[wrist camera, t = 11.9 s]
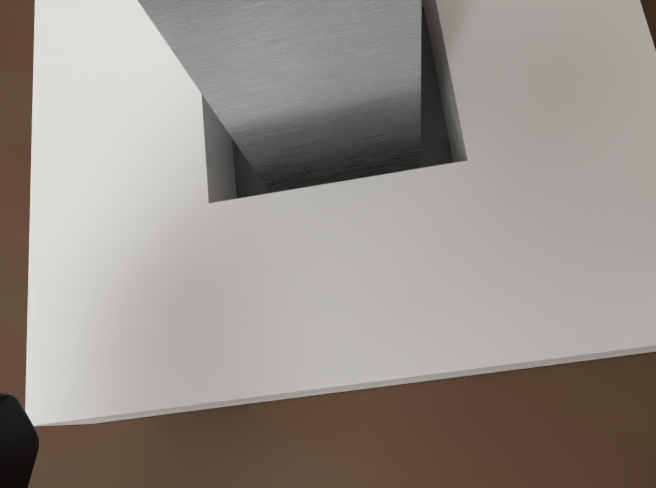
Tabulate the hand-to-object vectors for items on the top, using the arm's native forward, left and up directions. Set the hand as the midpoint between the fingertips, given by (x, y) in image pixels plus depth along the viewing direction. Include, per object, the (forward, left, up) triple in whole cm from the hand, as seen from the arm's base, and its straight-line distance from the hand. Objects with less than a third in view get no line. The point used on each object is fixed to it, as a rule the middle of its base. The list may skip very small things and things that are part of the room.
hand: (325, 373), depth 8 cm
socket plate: (+2, +8, -8) cm, 12 cm away
